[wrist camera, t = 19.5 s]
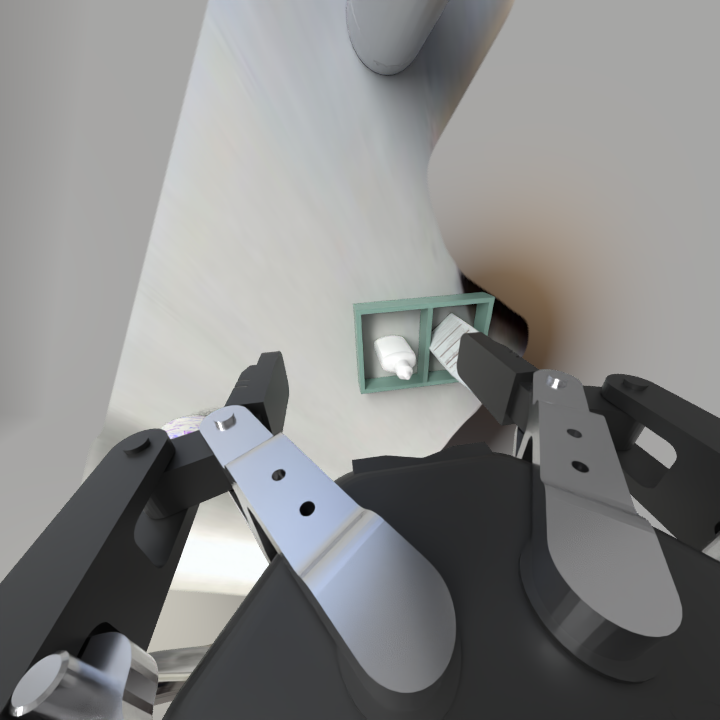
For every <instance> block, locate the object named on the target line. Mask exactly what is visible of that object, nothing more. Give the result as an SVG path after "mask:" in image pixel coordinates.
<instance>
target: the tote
mask: <svg viewBox="0 0 720 720" xmlns="http://www.w3.org/2000/svg"><path fill="white" fill-rule="evenodd" d="M494 299H495V297H493V296H491V295H489V294H487V293H484V292H478V293H467V294H456V295H445V296H434V297H423V298H412V299H401V300H391V301H380V302H369V303H358V304H353V309H354V323H355V338H356V352H357V367H358V382H359V387H360V392H361V394H364V393H373V392H381V391H389V390H397V389H405V388H413V387H422V386H430V385H438V384H446V383H454V382H459V381H458V380H457V379H455V378H454V377H453V376H452V375H451V374H450V373H449V372H448V371H447V370H441V371H432V372H428V366H429V354H430V349H429V347H430V341H431V328H432V316H433V308H436V307H446V306H457V305H467V304H477V308H476V314H475V320H474V327H473V328H474V329H476V330H477V331H479V332H482V333H484V334H485V335H486V336H488V330H489V325H490V320H491V315H492V310H493V304H494ZM415 309H421V314H420V331H419V349H418V366H417V373H415V374H412V376H411V377H410V379H409V380H406V379H405V380H404V379H400V378H399V377H398V376H390V377H381V378H373V379H364V361H363V343H362V325H361V315H362V314H373V313H383V312H394V311H404V310H415Z"/></svg>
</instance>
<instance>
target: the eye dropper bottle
mask: <svg viewBox="0 0 720 720" xmlns="http://www.w3.org/2000/svg"><path fill="white" fill-rule="evenodd" d="M374 345H375V351H376V354H377V356H378V359H379V361H380V363H381V366H382V368H383V369H384V370H385V371H388V372H394V373H396V374H397V376H398V377H399V378H400V379H404V380H405V379H406V380H409V379H410V377H411V376H412V374H413V370H412V367H414V366H415V364H416V356H415V353H414V352H413V350H412V349H411V347H410V346H409V344H408V343H407V342H406V340H405V339H404V338H403V337H401V336H397V335H389V336H384V337H382V338H379V339H377V340H376V341H375V343H374Z"/></svg>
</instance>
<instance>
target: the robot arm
mask: <svg viewBox="0 0 720 720" xmlns="http://www.w3.org/2000/svg"><path fill="white" fill-rule="evenodd" d="M448 2H449V0H347V7H346V14H347V26H348V31H349V36H350V39H351V42H352V45H353V47H354V49H355V51H356V53H357V55H358V57H359V58H360V59H361V60H362V62H363V63H364V64H365V65H366V66H367V67H368V68H370V69H371V70H372V71H374V72H377V73H379V74H384V75H391V74H396V73H398V72H400V71H402V70H404V69H405V68H406V67H408V66H409V65H410V64H411V63H412V61H413V60H414V59H415V57H416V56H417V54H418V53H419V51H420V49H421V48H422V46H423V44H424V42H425V41H426V39H427V37H428V36H429V34H430V32H431V31H432V29H433V27H434V26H435V24H436V22H437V20H438V19H439V17H440V15H441V14H442V12H443V10H444V8H445V7H446V5H447V3H448ZM457 372H458V375H459V377H460V378H461V379H462V381H463V382H464V383H465V384H466V385H467V386H468V387H469V389H470V390H471V391H472V392H473V393H474V394H475V396H476V397H477V398H478V399H479V400H480V401H481V403H482V404H483V405H484V406H485V407H486V408H487V409H488V411H489V412H490V413H491V414H492V415H493V416H494V417H495V419H496V420H497V421H498V422H499V423H500V425H509V424H516V425H517V427H516V430H515V437H514V448H513V456H511V455H507V454H502V453H496V452H492V451H491V450H490V448H489V447H488V445H487V444H486V443H485V442H479V443H472V444H465V445H457V446H452V447H450V448H447V449H445V450H442V451H440V452H437V453H435V454H432V455H430V456H427V457H424V458H414V457H400V456H378V457H371V458H364V459H357V460H352V465H353V471H352V472H350V473H347V474H345V475H343V476H342V477H340V478H338V479H337V480H335V481H333V480H332V479H331V478H329V477H328V476H327V475H326V474H325V473H324V472H323V471H322V470H321V469H320V468H319V467H318V466H317V465H316V464H315V463H314V462H313V461H312V460H311V459H310V458H309V457H307V456H306V455H305V454H304V453H303V452H302V451H301V450H300V449H299V448H298V447H297V446H296V445H295V444H294V443H293V442H292V441H291V440H290V439H289V438H288V437H287V436H285V435H284V434H283V433H282V431H283V426H284V420H285V415H286V409H287V403H288V398H289V385H288V380H287V375H286V371H285V366H284V361H283V357H282V354H281V352H280V351H278V352H268V353H262V354H261V356H260V358H259V361H258V363H257V365H252V366H249V367H248V368H247V369H246V370H244V371H243V372H242V373H241V375H240V377H239V379H238V382H237V383H236V385H235V388H234V389H233V391H232V393H231V395H230V397H229V399H228V400H227V402H226V404H225V406H224V407H223V408H220V409H218V410H215V411H214V412H212V413H210V414H209V415H208V416H206V417H205V418H204V419H203V421H202V422H201V424H200V427H199V430H197V431H194V432H191V433H188V434H185V435H182V436H179V437H176V438H173V439H170V438H169V436H168V434H167V432H166V431H165V430H162V429H149V430H144V431H141V432H138V433H136V434H133V435H131V436H129V437H127V438H126V439H124V440H122V441H121V442H119V443H118V444H117V445H116V446H114V447H113V448H112V449H111V450H110V451H109V453H108V454H107V455H106V456H105V457H104V459H103V460H102V461H101V462H100V464H99V465H98V466H97V467H96V468H95V470H94V471H93V472H92V473H91V474H90V476H89V477H88V478H87V479H86V480H85V482H84V483H83V484H82V485H81V486H80V488H79V489H78V490H77V491H76V493H75V494H74V495H73V496H72V498H71V499H70V500H69V501H68V502H67V503H66V505H65V506H64V507H63V508H62V510H61V511H60V512H59V513H58V514H57V516H56V517H55V518H54V519H53V520H52V522H51V523H50V524H49V525H48V527H47V528H46V529H45V530H44V531H43V533H42V534H41V535H40V536H39V537H38V539H37V540H36V541H35V542H34V543H33V545H32V546H31V547H30V548H29V550H28V551H27V552H26V553H25V554H24V556H23V557H22V558H21V559H20V560H19V562H18V563H17V564H16V565H15V566H14V568H13V569H12V570H11V571H10V572H9V574H8V575H7V576H6V577H5V579H4V580H3V581H2V582H1V583H0V720H153V719H152V718H153V717H152V714H153V705H154V700H155V695H156V690H157V685H158V668H157V664H156V662H155V660H154V658H153V657H152V656H150V655H149V654H148V653H147V652H146V651H147V649H148V646H149V643H150V640H151V638H152V635H153V632H154V629H155V627H156V624H157V621H158V618H159V615H160V612H161V610H162V607H163V604H164V601H165V599H166V596H167V593H168V590H169V588H170V585H171V582H172V579H173V577H174V574H175V571H176V568H177V565H178V563H179V560H180V557H181V554H182V552H183V549H184V546H185V543H186V540H187V538H188V535H189V532H190V529H191V526H192V524H193V521H194V518H195V515H196V513H197V510H198V507H199V504H200V503H201V502H204V501H206V500H209V499H211V498H213V497H216V496H218V495H221V494H223V493H225V492H228V493H229V495H230V496H231V498H232V500H233V501H234V503H235V505H236V506H237V508H238V510H239V511H240V513H241V515H242V516H243V518H244V520H245V521H246V523H247V525H248V526H249V528H250V530H251V531H252V533H253V535H254V537H255V539H256V541H257V543H258V545H259V547H260V548H261V550H262V552H263V554H264V556H265V558H266V559H267V561H268V563H269V566H268V567H267V568H266V570H265V571H264V573H263V574H262V575H261V577H260V578H259V580H258V581H257V582H256V584H255V585H254V587H253V588H252V589H251V591H250V592H249V594H248V595H247V596H246V598H245V599H244V601H243V602H242V603H241V605H240V607H239V608H238V609H237V611H236V612H235V613H234V615H233V616H232V618H231V619H230V620H229V622H228V623H227V624H226V626H225V627H224V629H223V630H222V632H221V633H220V634H219V636H218V637H217V639H216V640H215V641H214V643H213V644H212V645H211V647H210V648H209V650H208V651H207V652H206V654H205V655H204V657H203V658H202V659H201V661H200V662H199V664H198V665H197V666H196V668H195V669H194V671H193V672H192V673H191V675H190V676H189V678H188V679H187V680H186V682H185V683H184V685H183V686H182V688H181V689H180V690H179V692H178V693H177V695H176V697H175V698H174V700H173V701H172V703H171V704H170V706H169V708H168V710H167V711H166V713H165V715H164V717H163V719H162V720H720V418H718V417H716V416H714V415H713V414H711V413H709V412H707V411H705V410H703V409H701V408H699V407H698V406H696V405H694V404H692V403H690V402H688V401H686V400H684V399H682V398H681V397H679V396H677V395H675V394H673V393H671V392H669V391H667V390H665V389H664V388H662V387H660V386H658V385H656V384H654V383H652V382H650V381H648V380H645V379H642V378H639V377H635V376H631V375H625V374H612V375H609V376H607V378H606V380H605V382H604V384H603V386H602V387H595V386H583V385H582V383H581V382H580V381H579V380H578V379H577V378H575V377H574V376H572V375H569V374H567V373H564V372H561V371H556V370H547V369H545V370H539V369H537V368H536V367H534V366H533V365H531V364H530V363H529V362H527V361H526V360H524V359H523V358H522V357H519V355H517V354H516V353H514V352H513V351H512V350H510V349H509V348H507V347H506V346H504V345H502V344H499V343H497V342H495V341H493V340H492V339H491V338H489V337H488V336H486V335H485V334H484V333H482V332H473V333H464V334H463V335H462V336H461V339H460V345H459V352H458V358H457ZM645 426H646V427H647V428H649V429H650V430H652V431H653V432H654V433H656V434H657V435H659V436H660V437H662V438H663V439H665V440H666V441H667V442H669V443H670V444H671V445H672V446H673V447H674V449H675V451H676V454H677V459H676V461H675V463H674V464H673V465H672V466H671V468H670V469H668V468H667V467H665V466H664V465H663V464H662V463H660V462H659V461H658V460H656V459H655V458H654V457H652V456H651V455H650V454H648V453H647V452H646V451H645V450H643V449H642V448H641V447H639V446H638V445H637V444H636V443H635V442H636V440H637V438H638V437H639V435H640V434H641V432H642V430H643V429H644V427H645ZM630 494H631V495H632V496H633V497H634V498H635V499H636V500H637V501H638V502H639V503H640V504H641V505H642V506H643V507H644V508H646V509H647V510H648V511H649V512H650V513H651V514H652V515H653V516H654V517H655V518H656V519H657V520H658V521H659V522H660V523H661V524H662V525H663V526H664V527H665V528H666V529H667V530H669V531H670V532H671V533H672V534H673V535H674V536H675V537H676V538H677V539H676V538H674V537H672V536H670V535H668V534H666V533H665V532H663V531H661V530H659V529H657V528H655V527H653V526H651V524H650V523H649V521H648V520H646V519H645V518H643V517H641V516H640V515H638V513H637V512H636V510H635V508H634V505H633V502H632V499H631V496H630Z"/></svg>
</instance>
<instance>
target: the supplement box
mask: <svg viewBox="0 0 720 720" xmlns="http://www.w3.org/2000/svg"><path fill="white" fill-rule="evenodd" d="M473 332H479V331H477V330H476V329H474V328H473V327H472V326H470V325H469V324H467V323H466V322H464V321H463V320H462V319H460V318H459V317H457V316H456V315H454V314H453V313H451V314H449V315H448V316H447V317H446V318H445V319H444V320H443V321H442V322H441V323H440V324H439V325H438V326H437V327H436V328H435V329H434V330H433V331H432V332H431V341H430V347H429V349H430V350H431V352H432V353H433V354H434V355H435V356H436V358H437V359H438V360H439V361H440V362H441V364H442V365H443V366H444V367H445V369H446V370H447V371H448V372H449V373H450V374H451V375H452V376H453V377H454V378H455V379H457V380H458V381H459V382H460V383H461V384H463V385H464V386H465V387H466V388H467V389H469V387H468V386H467V385H466V384H465V383H464V382H463V381H462V379H461V378H460V377H459V375H458V372H457V358H458V352H459V345H460V339H461V336H462V335H463V334H464V333H473ZM469 390H470V389H469ZM470 391H471V390H470ZM471 392H472V391H471ZM472 393H473V392H472ZM473 394H474V393H473Z"/></svg>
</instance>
